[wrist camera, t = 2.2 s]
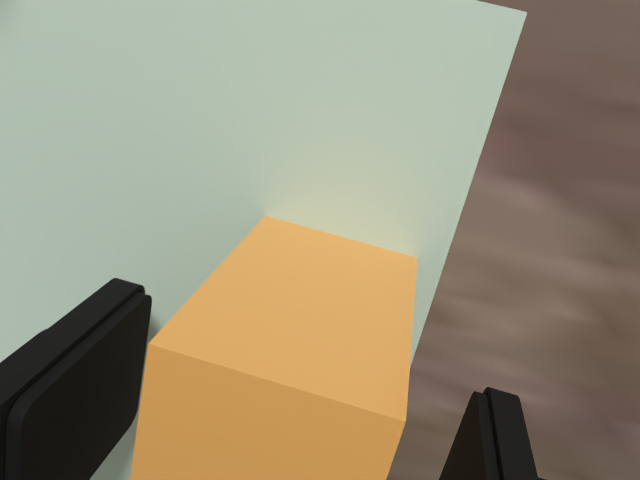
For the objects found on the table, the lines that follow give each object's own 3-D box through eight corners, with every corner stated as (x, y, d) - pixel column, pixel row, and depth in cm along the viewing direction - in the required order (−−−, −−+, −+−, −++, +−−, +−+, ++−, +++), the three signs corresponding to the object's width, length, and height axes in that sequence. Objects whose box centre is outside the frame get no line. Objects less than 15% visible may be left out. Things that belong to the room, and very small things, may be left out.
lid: (514, 14, 11) (617, -6, 5) (331, 582, 16) (269, 914, 10) (-118, -134, 12) (-687, -304, 6) (-92, 442, 18) (-376, 664, 11)
